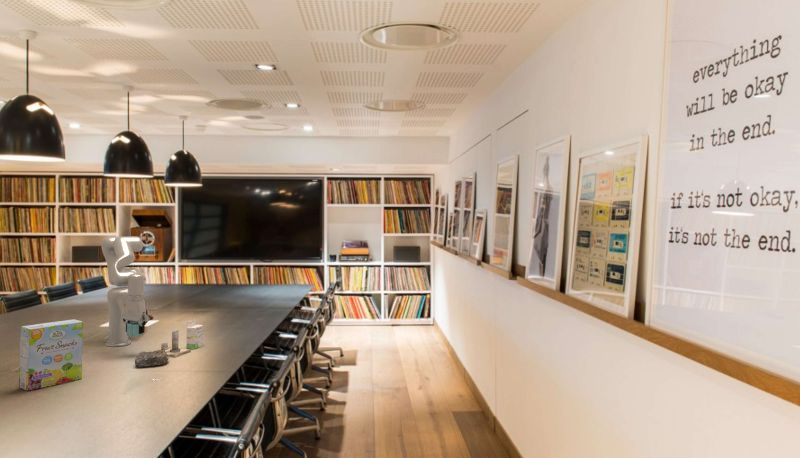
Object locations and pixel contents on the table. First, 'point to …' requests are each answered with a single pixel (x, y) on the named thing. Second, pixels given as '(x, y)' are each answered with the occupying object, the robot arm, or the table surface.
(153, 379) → the paper
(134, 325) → the ring
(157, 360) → the rock
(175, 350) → the board
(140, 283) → the robot arm
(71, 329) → the snack box
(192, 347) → the ink box
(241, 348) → the table surface
